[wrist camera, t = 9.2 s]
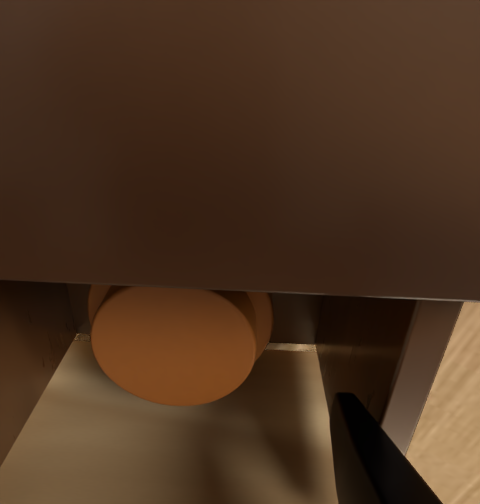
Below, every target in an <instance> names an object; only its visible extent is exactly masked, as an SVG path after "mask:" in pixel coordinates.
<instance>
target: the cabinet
mask: <svg viewBox="0 0 480 504" xmlns="http://www.w3.org/2000/svg"><path fill="white" fill-rule="evenodd" d="M0 280H11V281H32V282H54V283H75V284H96V285H118V286H139V287H160V288H182V289H203V290H224V291H246V292H267V293H288V294H310V295H331V296H352V297H374V298H395V299H416V300H438V301H459V302H480V0H0Z"/></svg>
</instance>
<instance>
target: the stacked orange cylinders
mask: <svg viewBox="0 0 480 504" xmlns="http://www.w3.org/2000/svg"><path fill="white" fill-rule="evenodd" d="M88 315H89V321H90V324H91V330H90V341H91V347H92V351H93V354H94V357H95V359H96V361H97V363H98V364H99V366H100V367H101V369H102V370H103V372H104V373H105V374H106V375H107V376H108V377H109V378H110V379H111V380H112V381H113V382H114V383H115V384H117V385H118V386H119V387H121V388H122V389H124V390H125V391H127V392H129V393H131V394H132V395H134V396H137V397H139V398H141V399H144V400H147V401H150V402H154V403H158V404H162V405H169V406H194V405H201V404H206V403H210V402H213V401H216V400H218V399H220V398H222V397H225V396H226V395H228V394H230V393H231V392H233V391H234V390H235V389H237V388H238V387H239V386H240V385H241V384H242V383H243V382H244V381H245V379H246V378H247V377H248V375H249V374H250V372H251V370H252V368H253V366H254V362H255V361H256V360H257V359H258V358H259V357H260V356H261V354H262V353H263V351H264V350H265V348H266V346H267V344H268V342H269V340H270V337H271V334H272V330H273V323H274V314H273V299H272V293H267V292H246V291H224V290H203V289H182V288H160V287H139V286H118V285H96V284H91V286H90V289H89V294H88Z"/></svg>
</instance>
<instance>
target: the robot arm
mask: <svg viewBox="0 0 480 504" xmlns="http://www.w3.org/2000/svg"><path fill="white" fill-rule="evenodd" d="M329 425H330V435H331V445H332V455H333V465H334V474H335V484H336V492H337V498H338V504H443V503H442V502H441V501H440V499H439V498H438V497H437V496H436V495H435V493H434V492H433V491H432V490H431V488H430V487H429V486H428V485H427V483H426V482H425V481H424V480H423V478H422V477H421V476H420V475H419V473H418V472H417V471H416V470H415V468H414V467H413V466H412V465H411V463H410V462H409V461H408V460H407V459H406V457H405V456H404V455H403V454H402V452H401V451H400V450H399V449H398V447H397V446H396V445H395V444H394V442H393V441H392V440H391V439H390V437H389V436H388V435H387V434H386V432H385V431H384V430H383V429H382V428H381V426H380V425H379V424H378V423H377V421H376V420H375V419H374V418H373V416H372V415H371V414H370V413H369V411H368V410H367V409H366V408H365V406H364V405H363V404H362V403H361V401H360V400H359V399H358V398H357V396H356V395H355V394H353V393H350V392H336V393H335V395H334V398H333V403H332V408H331V412H330V419H329Z"/></svg>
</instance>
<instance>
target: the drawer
mask: <svg viewBox="0 0 480 504" xmlns="http://www.w3.org/2000/svg"><path fill="white" fill-rule="evenodd" d="M90 286H91V284H75V283H54V282H32V281H11V280H0V504H338V498H337V492H336V484H335V474H334V465H333V455H332V445H331V435H330V425H329V419H330V412H331V408H332V403H333V398H334V395H335V393H336V392H350V393H353V394H355V395H356V396H357V398H358V399H359V400H360V401H361V403H362V404H363V405H364V406H365V408H366V409H367V410H368V411H369V413H370V414H371V415H372V416H373V418H374V419H375V420H376V421H377V423H378V424H379V425H380V426H381V428H382V429H383V430H384V431H385V432H386V434H387V435H388V436H389V437H390V439H391V440H392V441H393V442H394V444H395V445H396V446H397V447H398V449H399V450H400V451H401V452H402V454H403V455H404V456H405V455H406V453H407V450H408V447H409V445H410V442H411V440H412V437H413V434H414V432H415V429H416V426H417V424H418V421H419V419H420V416H421V413H422V411H423V408H424V405H425V403H426V400H427V398H428V395H429V392H430V390H431V387H432V384H433V382H434V379H435V377H436V374H437V371H438V369H439V366H440V363H441V361H442V358H443V356H444V353H445V350H446V348H447V345H448V342H449V340H450V337H451V335H452V332H453V329H454V327H455V324H456V321H457V319H458V316H459V314H460V311H461V308H462V306H463V303H464V302H459V301H438V300H416V299H395V298H374V297H352V296H331V295H310V294H288V293H272V299H273V314H274V323H273V330H272V334H271V337H270V340H269V342H271V343H292V344H313V345H316V351H317V352H304V351H283V350H264V351H263V353H262V354H261V356H260V357H259V358H258V359H257V360H256V361H255V362H254V366H253V368H252V370H251V372H250V374H249V375H248V377H247V378H246V379H245V381H244V382H243V383H242V384H241V385H240V386H239V387H238V388H237V389H235V390H234V391H233V392H231V393H230V394H228V395H226V396H225V397H222V398H220V399H218V400H216V401H213V402H210V403H206V404H201V405H194V406H169V405H162V404H158V403H154V402H150V401H147V400H144V399H141V398H139V397H137V396H134V395H132V394H131V393H129V392H127V391H125V390H124V389H122V388H121V387H119V386H118V385H117V384H115V383H114V382H113V381H112V380H111V379H110V378H109V377H108V376H107V375H106V374H105V373H104V372H103V370H102V369H101V367H100V366H99V364H98V363H97V361H96V359H95V357H94V354H93V351H92V347H91V341H76V340H74V338H75V336H76V335H77V333H84V334H90V330H91V324H90V321H89V315H88V294H89V289H90Z"/></svg>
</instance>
